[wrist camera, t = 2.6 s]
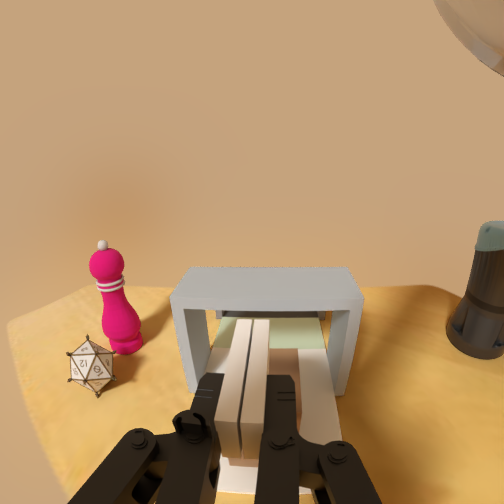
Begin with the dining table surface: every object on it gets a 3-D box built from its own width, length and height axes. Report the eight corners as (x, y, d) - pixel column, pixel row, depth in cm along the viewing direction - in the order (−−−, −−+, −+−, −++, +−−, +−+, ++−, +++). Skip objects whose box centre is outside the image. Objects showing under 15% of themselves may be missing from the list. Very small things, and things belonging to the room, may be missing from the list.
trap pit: (324, 319, 55) (325, 308, 54) (216, 318, 57) (215, 308, 56) (318, 295, 64) (319, 285, 64) (224, 295, 66) (223, 285, 65)
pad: (326, 358, 44) (327, 356, 44) (210, 357, 45) (210, 354, 45) (318, 319, 55) (318, 317, 55) (222, 318, 57) (222, 316, 56)
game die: (104, 392, 40) (95, 336, 43) (135, 395, 37) (125, 331, 40) (61, 399, 32) (52, 335, 35) (89, 404, 29) (77, 330, 32)
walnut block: (292, 467, 25) (302, 412, 21) (229, 465, 25) (218, 409, 22) (292, 411, 33) (297, 348, 30) (238, 409, 34) (232, 347, 30)
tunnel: (361, 488, 21) (413, 400, 16) (159, 481, 23) (107, 391, 18) (333, 350, 46) (345, 263, 40) (204, 349, 47) (193, 262, 42)
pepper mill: (143, 330, 52) (123, 231, 46) (147, 352, 46) (123, 242, 39) (109, 337, 50) (83, 238, 43) (109, 359, 43) (77, 250, 37)
